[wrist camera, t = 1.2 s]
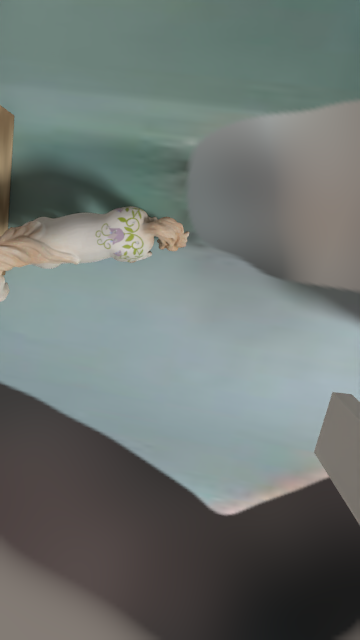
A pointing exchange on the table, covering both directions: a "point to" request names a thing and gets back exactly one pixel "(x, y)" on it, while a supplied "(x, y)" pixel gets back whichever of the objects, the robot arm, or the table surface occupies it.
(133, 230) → the unicorn figurine
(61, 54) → the table surface
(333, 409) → the robot arm
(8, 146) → the tower base
